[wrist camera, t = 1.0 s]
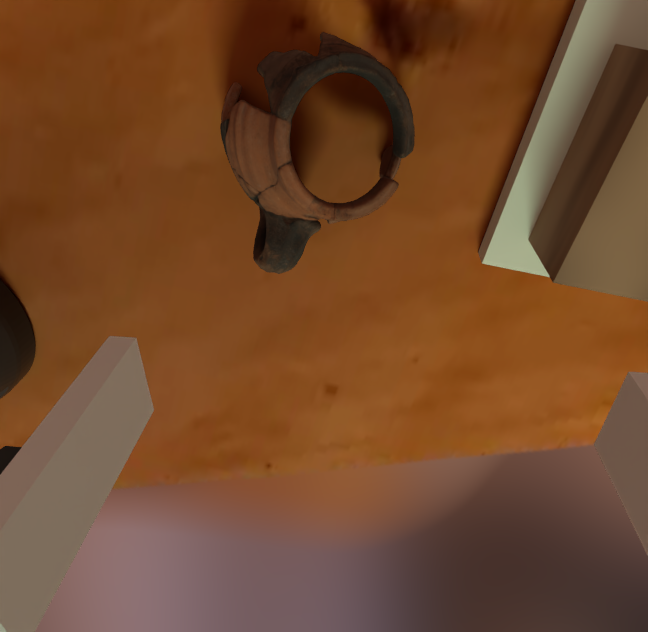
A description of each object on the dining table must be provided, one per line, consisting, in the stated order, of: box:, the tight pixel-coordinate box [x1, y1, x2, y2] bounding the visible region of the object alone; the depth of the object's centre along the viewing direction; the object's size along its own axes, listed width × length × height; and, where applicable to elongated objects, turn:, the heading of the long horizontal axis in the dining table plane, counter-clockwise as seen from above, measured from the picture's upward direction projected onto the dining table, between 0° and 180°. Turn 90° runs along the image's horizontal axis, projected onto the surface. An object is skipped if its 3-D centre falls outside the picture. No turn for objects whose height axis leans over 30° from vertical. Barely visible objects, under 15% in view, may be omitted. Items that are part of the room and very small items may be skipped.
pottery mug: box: [221, 32, 415, 274], centre depth 26 cm, size 12×10×8 cm
